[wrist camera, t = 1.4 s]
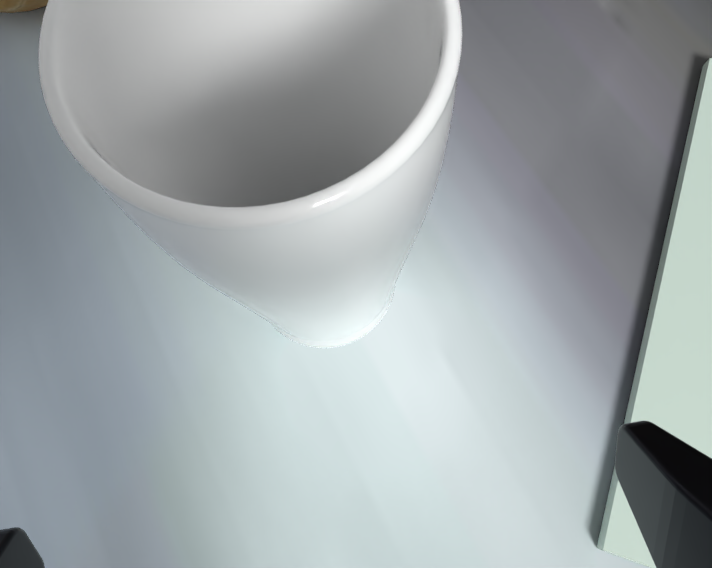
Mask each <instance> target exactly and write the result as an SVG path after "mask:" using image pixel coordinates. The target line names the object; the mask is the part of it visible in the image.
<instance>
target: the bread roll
mask: <svg viewBox="0 0 712 568" xmlns="http://www.w3.org/2000/svg"><path fill="white" fill-rule="evenodd" d="M47 3H48V0H0V12H4V13H14V12H23V11H31V10H34V9H38V8H41V7H43V6H46V5H47Z"/></svg>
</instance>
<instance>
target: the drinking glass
mask: <svg viewBox="0 0 712 568" xmlns="http://www.w3.org/2000/svg"><path fill="white" fill-rule="evenodd" d="M461 48H462V17H461V10H460V3H459V0H48V3H47V6H46V9H45V12H44V16H43V20H42V25H41V31H40V37H39V49H38V61H39V76H40V82H41V89H42V93H43V96H44V100H45V103H46V107H47V110H48V112H49V115H50V117H51V119H52V122H53V124H54V126H55V128H56V130H57V132H58V134H59V135H60V137H61V139H62V141H63V143H64V144H65V145H66V147H67V148H68V150H69V151H70V152H71V154H72V155H73V156H74V158H75V159H76V160H77V161H78V162H79V164H80V165H81V166H82V167H83V168H84V169H85V170H86V171H87V172H88V173H89V174H90V175H91V176H92V178H93V179H94V180H95V181H96V182H97V183H98V184H99V186H100V187H101V188H102V189H103V190H104V191H105V192H106V194H107V195H108V196H109V197H110V198H111V199H112V200H113V201H114V202H115V203H116V205H117V206H118V207H119V208H120V209H121V210H122V211H123V212H124V213H125V214H126V215H127V216H128V218H129V219H130V220H131V221H132V222H133V223H134V224H135V225H136V226H137V227H138V228H139V229H140V230H141V231H142V232H143V233H144V234H145V235H146V236H148V237H149V238H150V239H151V240H152V241H153V242H154V243H155V244H156V245H157V246H159V247H160V248H161V249H162V250H163V251H164V252H165V253H167V254H168V255H169V256H170V257H171V258H172V259H173V260H175V261H176V262H177V263H178V264H180V265H181V266H182V267H184V268H185V269H186V270H188V271H189V272H190V273H192V274H193V275H195V276H196V277H197V278H199V279H200V280H202V281H203V282H205V283H206V284H208V285H209V286H211V287H212V288H214V289H216V290H217V291H219V292H220V293H222V294H224V295H225V296H227V297H229V298H230V299H232V300H234V301H235V302H237V303H239V304H240V305H242V306H244V307H245V308H247V309H249V310H250V311H252V312H253V313H255V314H257V315H258V316H260V317H261V318H263V319H265V320H266V321H268V322H269V323H270V324H271V325H272V326H273V327H274V328H275V329H276V330H277V331H278V332H280V333H281V334H282V335H284V336H285V337H287V338H288V339H290V340H292V341H294V342H296V343H299V344H302V345H305V346H309V347H315V348H334V347H339V346H343V345H347V344H349V343H352V342H354V341H356V340H358V339H360V338H362V337H363V336H365V335H366V334H368V333H369V332H370V331H372V330H373V329H374V328H375V327H376V326H377V325H378V323H379V322H380V321H381V320H382V318H383V317H384V316H385V314H386V312H387V310H388V309H389V306H390V304H391V302H392V298H393V295H394V291H395V284H396V282H397V279H398V277H399V275H400V272H401V270H402V268H403V266H404V263H405V261H406V259H407V257H408V255H409V252H410V250H411V248H412V246H413V244H414V242H415V239H416V237H417V235H418V233H419V230H420V228H421V226H422V224H423V221H424V219H425V217H426V214H427V212H428V209H429V207H430V204H431V201H432V199H433V195H434V192H435V189H436V186H437V183H438V179H439V176H440V173H441V169H442V165H443V161H444V157H445V152H446V147H447V142H448V137H449V133H450V127H451V122H452V116H453V109H454V103H455V95H456V87H457V78H458V69H459V63H460V58H461Z"/></svg>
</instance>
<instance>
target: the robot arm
mask: <svg viewBox="0 0 712 568" xmlns="http://www.w3.org/2000/svg"><path fill="white" fill-rule="evenodd" d="M615 470H616V474H617V478H618V480H619V483H620V485H621V487H622V490H623V492H624V494H625V497H626V499H627V501H628V504H629V506H630V508H631V511H632V513H633V515H634V517H635V520H636V522H637V524H638V527H639V529H640V531H641V534H642V536H643V538H644V541H645V543H646V545H647V548H648V550H649V552H650V555H651V557H652V559H653V561H654V564H655V566H656V568H712V458H710V457H709V456H707V455H705V454H704V453H702V452H700V451H699V450H697V449H695V448H694V447H692V446H690V445H689V444H687V443H685V442H684V441H682V440H680V439H679V438H677V437H675V436H674V435H672V434H670V433H669V432H667V431H666V430H664V429H662V428H661V427H659V426H657V425H656V424H654V423H652V422H649V421H638V422H632V423H626V424H623V425H621V426H620V428H619V430H618V436H617V445H616V455H615ZM0 568H45V567H44V563H43V560H42V558H41V557H40V555H39V553H38V552H37V550H36V549H35V547H34V545H33V544H32V542H31V541H30V539H29V537H28V536H27V534H26V533H25V531H24V530H22V529H20V528H16V527H15V528H9V529H3V530H0Z"/></svg>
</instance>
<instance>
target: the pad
mask: <svg viewBox="0 0 712 568" xmlns="http://www.w3.org/2000/svg"><path fill="white" fill-rule="evenodd" d="M638 421H649V422H652V423H654V424H656V425H657V426H659V427H661V428H662V429H664V430H666V431H667V432H669V433H670V434H672V435H674V436H675V437H677V438H679V439H680V440H682V441H684V442H685V443H687V444H689V445H690V446H692V447H694V448H695V449H697V450H699V451H700V452H702V453H704V454H705V455H707V456H709V457H710V458H712V58H709V59H708V61H707V62H706V63H705V64H704V65H703V67H702V71H701V76H700V80H699V85H698V89H697V94H696V98H695V103H694V108H693V112H692V117H691V121H690V126H689V130H688V135H687V139H686V144H685V148H684V153H683V157H682V162H681V167H680V171H679V176H678V180H677V185H676V189H675V194H674V198H673V203H672V207H671V212H670V217H669V221H668V226H667V230H666V235H665V239H664V244H663V248H662V253H661V257H660V262H659V267H658V271H657V276H656V280H655V285H654V289H653V294H652V298H651V303H650V307H649V312H648V317H647V321H646V326H645V330H644V335H643V339H642V344H641V348H640V353H639V357H638V362H637V367H636V371H635V376H634V380H633V385H632V389H631V394H630V398H629V403H628V407H627V412H626V417H625V421H624V424H626V423H632V422H638ZM597 548H598V549H601V550H603V551H606V552H608V553H611V554H614V555H617V556H620V557H623V558H625V559H628V560H631V561H634V562H637V563H639V564H642V565H645V566H648V567H651V568H656V566H655V564H654V561H653V559H652V557H651V555H650V552H649V550H648V548H647V545H646V543H645V541H644V538H643V536H642V534H641V531H640V529H639V527H638V524H637V522H636V520H635V517H634V515H633V513H632V511H631V508H630V506H629V504H628V501H627V499H626V497H625V494H624V492H623V490H622V487H621V485H620V483H619V480H618V478H617V474H616V470H615V466H614V471H613V476H612V480H611V485H610V489H609V494H608V498H607V503H606V507H605V512H604V516H603V521H602V526H601V530H600V535H599V539H598V544H597Z"/></svg>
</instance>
